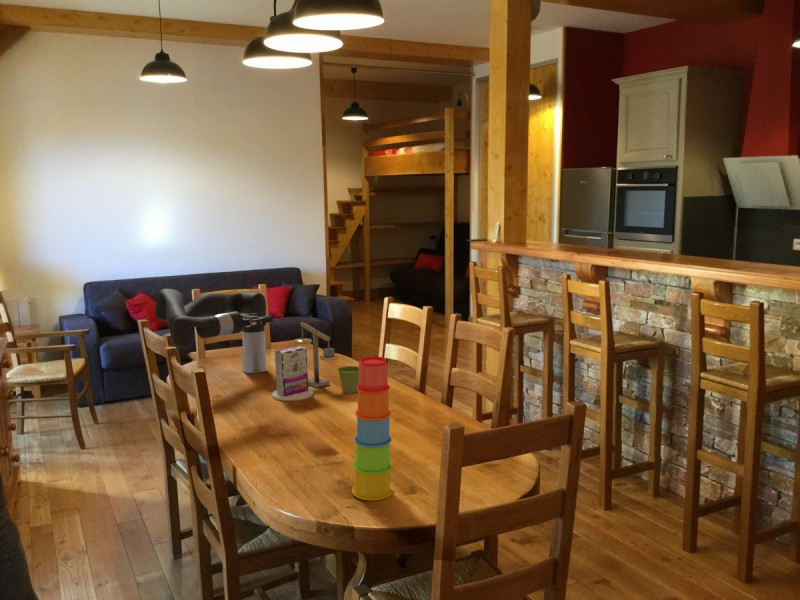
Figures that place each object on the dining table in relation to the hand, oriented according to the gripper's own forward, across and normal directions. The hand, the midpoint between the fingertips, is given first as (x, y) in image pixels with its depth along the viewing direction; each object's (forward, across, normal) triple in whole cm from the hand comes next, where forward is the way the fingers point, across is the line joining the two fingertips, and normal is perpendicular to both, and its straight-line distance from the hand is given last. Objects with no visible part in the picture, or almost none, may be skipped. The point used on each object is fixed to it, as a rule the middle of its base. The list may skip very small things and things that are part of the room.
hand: (264, 317), depth 258 cm
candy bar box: (+8, -4, +29) cm, 31 cm away
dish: (+8, -4, +30) cm, 31 cm away
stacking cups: (-33, -87, +30) cm, 98 cm away
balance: (+23, 0, +30) cm, 38 cm away
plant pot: (+25, -17, +30) cm, 43 cm away
